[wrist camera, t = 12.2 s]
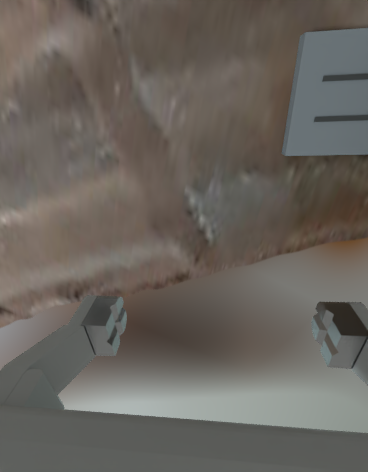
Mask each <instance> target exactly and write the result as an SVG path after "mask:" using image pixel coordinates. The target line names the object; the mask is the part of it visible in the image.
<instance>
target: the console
mask: <svg viewBox="0 0 368 472" xmlns="http://www.w3.org/2000/svg"><path fill="white" fill-rule="evenodd" d="M282 154H283V155H285V156H307V155H359V154H368V28H360V29H346V30H331V31H317V32H305V33H304V34H303V35H301V36H300V41H299V47H298V53H297V60H296V66H295V73H294V79H293V85H292V92H291V98H290V104H289V111H288V117H287V123H286V130H285V136H284V142H283V149H282Z"/></svg>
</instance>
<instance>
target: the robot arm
mask: <svg viewBox="0 0 368 472" xmlns="http://www.w3.org/2000/svg"><path fill="white" fill-rule="evenodd" d="M122 306H123V299H122V297H117V296H93V295H87V296H86V297H85V298H84V299H83V301H82V303H81V304H80V306H79V308H78V309H77V311H76V312H75V314H74V315H73V317H72V319H71V320H70V322H69V323H68V325H64V326H62V327H61V328H59V329H58V330H56V331H55V332H53V333H52V334H50V335H49V336H47V337H46V338H44V339H43V340H42V341H40V342H38V343H37V344H36V345H34V346H33V347H31V348H30V349H28V350H27V351H25V352H24V353H22V354H21V355H19V356H18V357H16V358H15V359H13V360H12V361H11V362H9V363H8V364H6V365H5V366H4V367H3V368H2V369H1V371H0V472H368V433H357V432H345V431H332V430H320V429H307V428H295V427H282V426H269V425H257V424H243V423H231V422H217V421H205V420H192V419H180V418H167V417H154V416H141V415H128V414H115V413H102V412H90V411H76V410H64V405H63V403H62V402H61V400H60V398H59V397H58V394H59V393H60V392H61V391H62V390H63V389H64V388H65V387H66V386H67V385H68V384H69V383H70V382H71V381H72V380H73V379H74V378H75V377H76V376H77V375H78V374H79V373H80V372H81V371H82V370H83V369H84V368H85V367H86V365H88V363H90V361H91V360H92V359H93V358H94V357H95V355H100V356H101V355H103V356H115V355H116V352H117V349H118V346H119V344H120V339H119V336H120V335H121V334H122V333H123V332H124V330H125V327H126V319H127V317H126V311H125V309H123V308H122ZM316 310H317V312H318V313H317V314H316V315H314V316H313V319H312V332H313V335H314V338H315V340H316V341H317V342H318V343H320V344H321V345H322V347H321V353H322V356H323V358H324V360H325V362H326V364H327V367H334V368H346V369H352V371H353V372H354V373H355V374H356V375H357V376H358V377H359V378H360V379H361V380H363V381H364V382H365V383H366V384H367V385H368V310H367V308H366V307H365V305H364V304H362V303H361V302H319V303H318V304H317V306H316Z"/></svg>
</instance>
